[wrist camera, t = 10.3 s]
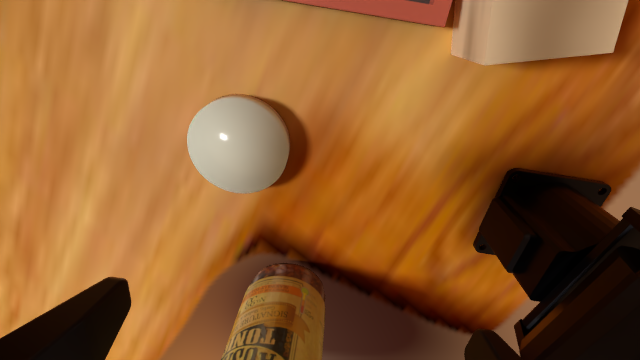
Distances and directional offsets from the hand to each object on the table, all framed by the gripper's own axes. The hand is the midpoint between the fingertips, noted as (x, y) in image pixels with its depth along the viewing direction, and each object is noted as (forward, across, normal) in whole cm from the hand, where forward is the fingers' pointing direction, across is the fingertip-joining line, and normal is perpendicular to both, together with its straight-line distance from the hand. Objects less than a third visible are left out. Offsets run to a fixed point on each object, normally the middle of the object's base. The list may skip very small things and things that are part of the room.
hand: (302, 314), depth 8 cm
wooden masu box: (+13, -8, -9) cm, 18 cm away
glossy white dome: (+13, +5, +1) cm, 14 cm away
